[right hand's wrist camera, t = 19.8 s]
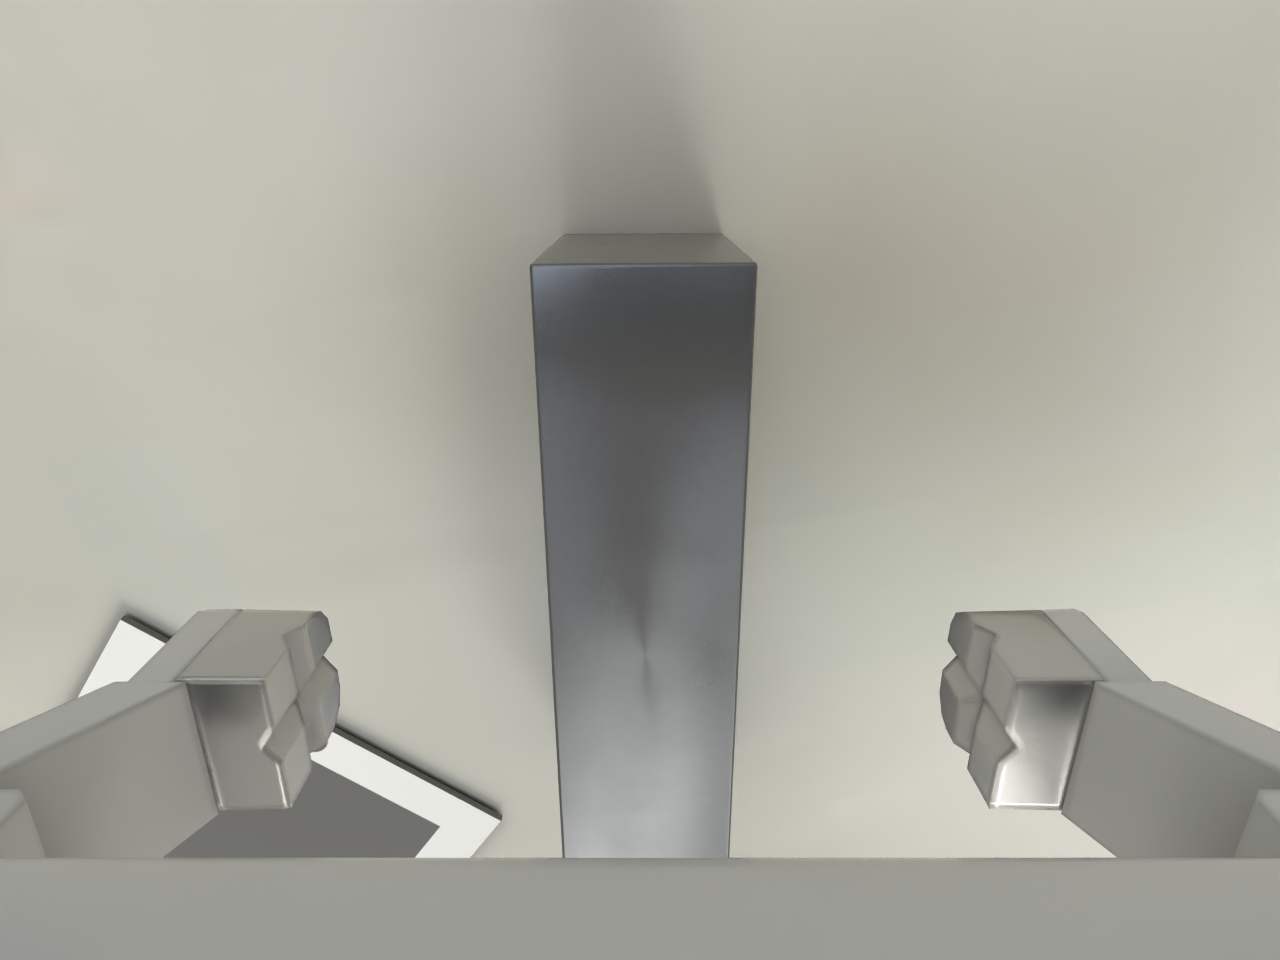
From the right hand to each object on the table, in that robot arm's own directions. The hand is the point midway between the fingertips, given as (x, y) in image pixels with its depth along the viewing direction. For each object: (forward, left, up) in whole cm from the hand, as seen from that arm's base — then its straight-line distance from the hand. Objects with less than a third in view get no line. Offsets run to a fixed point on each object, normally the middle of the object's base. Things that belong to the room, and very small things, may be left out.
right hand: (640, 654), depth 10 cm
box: (+6, +6, -22) cm, 24 cm away
